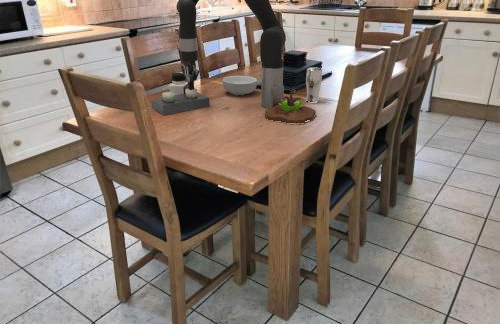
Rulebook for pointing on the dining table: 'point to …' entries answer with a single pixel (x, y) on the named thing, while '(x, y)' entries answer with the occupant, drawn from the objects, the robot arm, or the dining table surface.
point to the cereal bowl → (239, 84)
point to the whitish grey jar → (191, 93)
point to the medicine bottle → (178, 83)
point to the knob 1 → (168, 97)
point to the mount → (180, 104)
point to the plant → (290, 111)
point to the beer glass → (313, 83)
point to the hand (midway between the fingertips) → (191, 89)
